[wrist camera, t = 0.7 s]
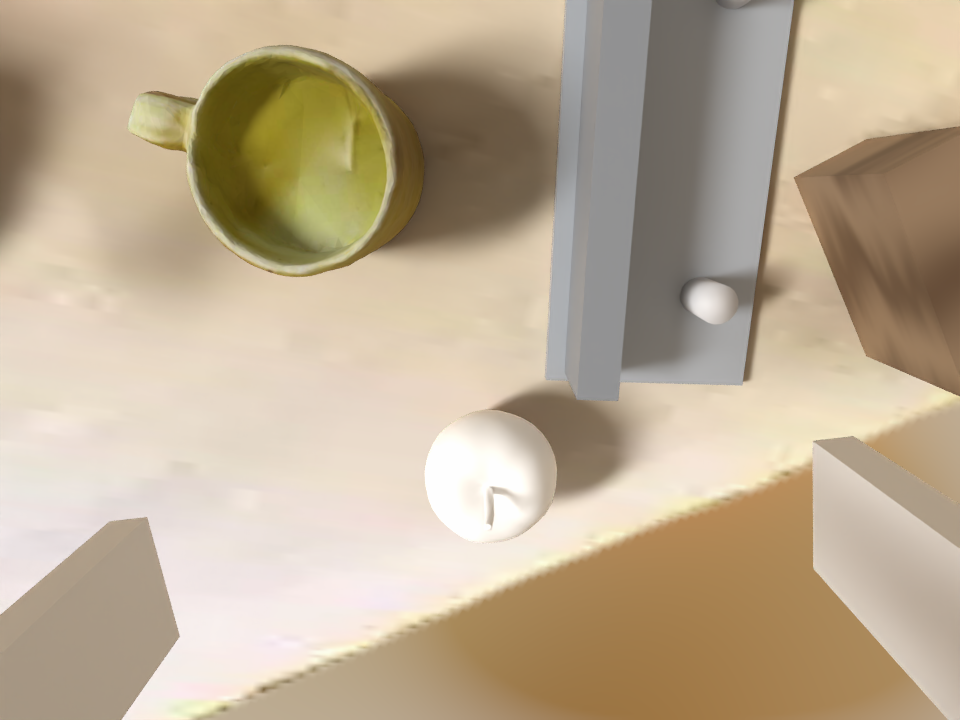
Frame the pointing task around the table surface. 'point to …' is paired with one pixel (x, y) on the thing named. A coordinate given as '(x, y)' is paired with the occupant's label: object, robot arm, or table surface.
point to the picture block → (896, 247)
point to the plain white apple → (490, 476)
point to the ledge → (661, 188)
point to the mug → (292, 158)
